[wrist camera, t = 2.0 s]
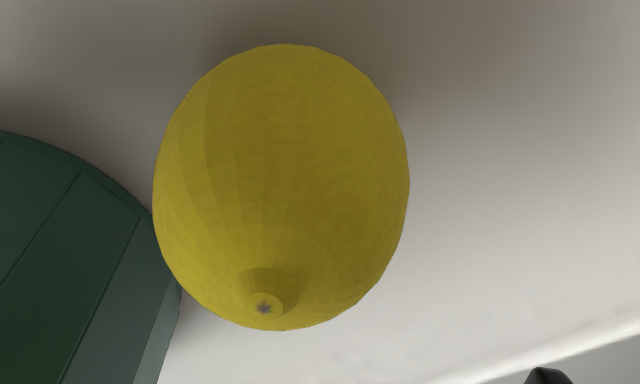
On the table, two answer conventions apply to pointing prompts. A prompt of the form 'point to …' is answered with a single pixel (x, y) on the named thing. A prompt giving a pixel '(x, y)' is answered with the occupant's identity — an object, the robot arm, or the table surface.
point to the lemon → (280, 187)
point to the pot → (77, 274)
